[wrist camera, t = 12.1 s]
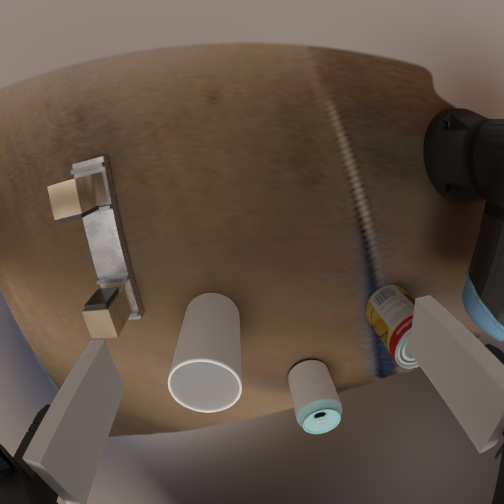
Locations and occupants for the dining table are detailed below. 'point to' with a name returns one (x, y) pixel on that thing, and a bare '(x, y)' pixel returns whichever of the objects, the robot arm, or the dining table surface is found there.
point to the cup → (208, 355)
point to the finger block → (77, 197)
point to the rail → (108, 261)
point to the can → (314, 397)
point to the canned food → (393, 321)
